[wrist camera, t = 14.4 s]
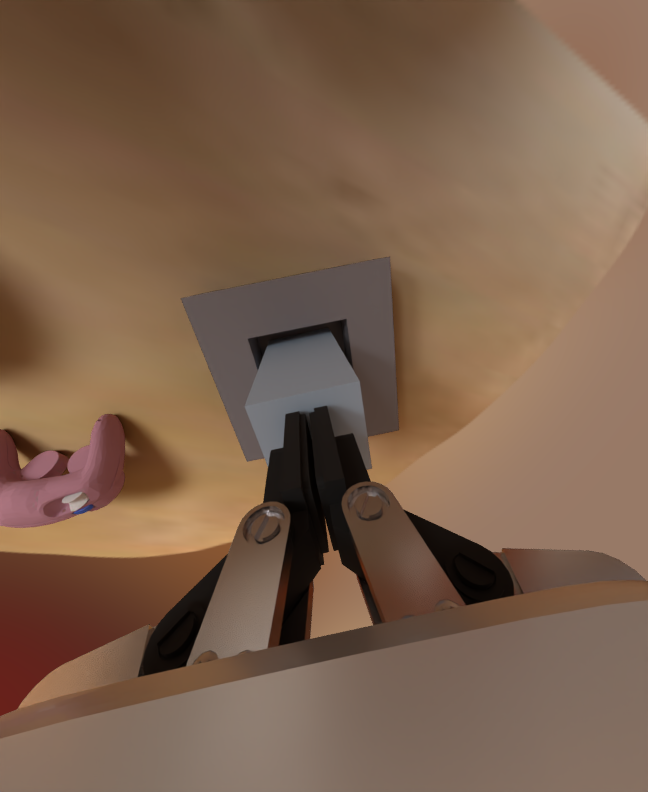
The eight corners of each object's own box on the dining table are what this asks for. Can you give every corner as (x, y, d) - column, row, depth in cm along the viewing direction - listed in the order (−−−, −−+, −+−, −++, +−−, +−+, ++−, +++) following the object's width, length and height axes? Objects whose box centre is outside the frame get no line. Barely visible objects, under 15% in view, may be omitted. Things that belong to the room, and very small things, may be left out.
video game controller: (36, 451, 23) (-17, 540, 18) (-22, 425, 19) (-105, 529, 15) (150, 435, 23) (124, 519, 19) (115, 407, 19) (72, 503, 15)
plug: (269, 340, 18) (244, 406, 9) (328, 327, 18) (359, 381, 10) (284, 393, 20) (276, 489, 11) (338, 382, 20) (372, 468, 11)
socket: (198, 294, 17) (180, 298, 14) (375, 259, 17) (389, 256, 14) (252, 438, 22) (246, 461, 20) (386, 411, 22) (399, 430, 20)
